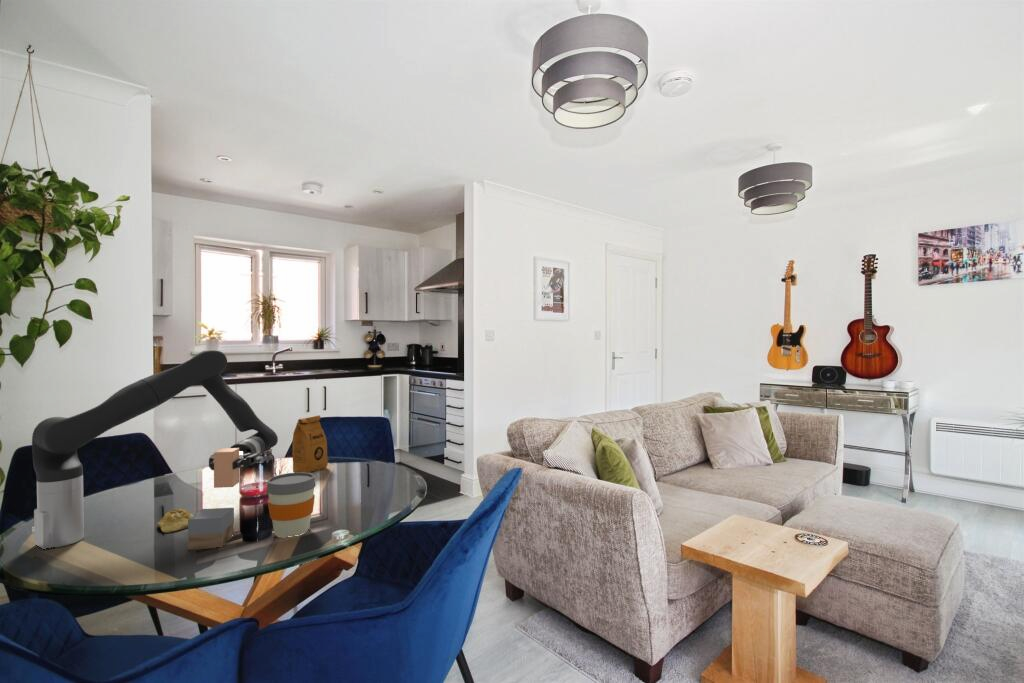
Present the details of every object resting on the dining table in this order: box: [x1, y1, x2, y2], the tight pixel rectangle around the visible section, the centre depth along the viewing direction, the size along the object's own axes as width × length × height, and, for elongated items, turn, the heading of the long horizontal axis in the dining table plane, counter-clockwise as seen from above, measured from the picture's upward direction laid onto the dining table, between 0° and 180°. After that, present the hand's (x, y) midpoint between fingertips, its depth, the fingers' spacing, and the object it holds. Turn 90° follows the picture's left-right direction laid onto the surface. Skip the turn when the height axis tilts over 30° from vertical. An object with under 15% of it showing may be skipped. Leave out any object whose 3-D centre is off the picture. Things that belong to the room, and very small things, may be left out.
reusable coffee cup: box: [266, 472, 316, 537], centre depth 141 cm, size 13×13×15 cm
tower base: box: [187, 522, 235, 551], centre depth 134 cm, size 8×8×4 cm
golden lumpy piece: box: [156, 508, 195, 534], centre depth 147 cm, size 11×6×10 cm
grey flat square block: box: [187, 507, 235, 536], centre depth 134 cm, size 8×8×4 cm
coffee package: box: [291, 414, 328, 473], centre depth 205 cm, size 10×12×22 cm
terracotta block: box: [213, 447, 240, 489], centre depth 145 cm, size 5×5×10 cm
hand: (223, 466), depth 142 cm, fingers closed on terracotta block, 5 cm apart
